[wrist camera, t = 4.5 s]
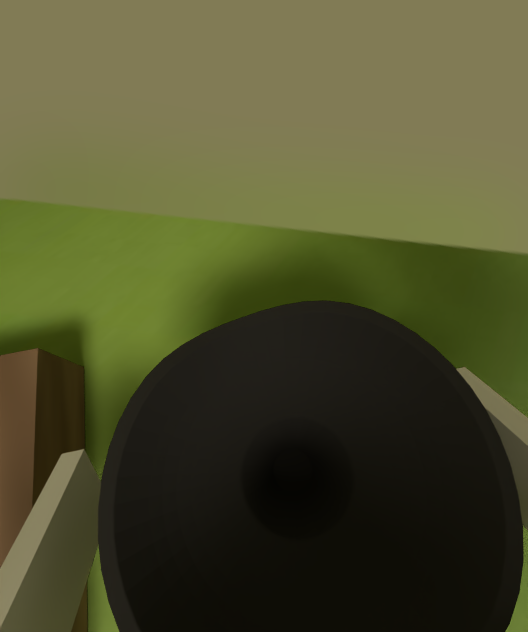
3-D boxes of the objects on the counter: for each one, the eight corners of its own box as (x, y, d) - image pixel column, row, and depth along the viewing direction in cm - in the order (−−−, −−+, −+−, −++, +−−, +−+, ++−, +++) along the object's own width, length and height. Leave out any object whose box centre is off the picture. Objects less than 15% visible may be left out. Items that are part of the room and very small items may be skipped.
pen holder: (354, 615, 15) (490, 898, 6) (161, 526, 16) (11, 634, 7) (403, 406, 18) (543, 364, 9) (236, 346, 19) (202, 253, 10)
